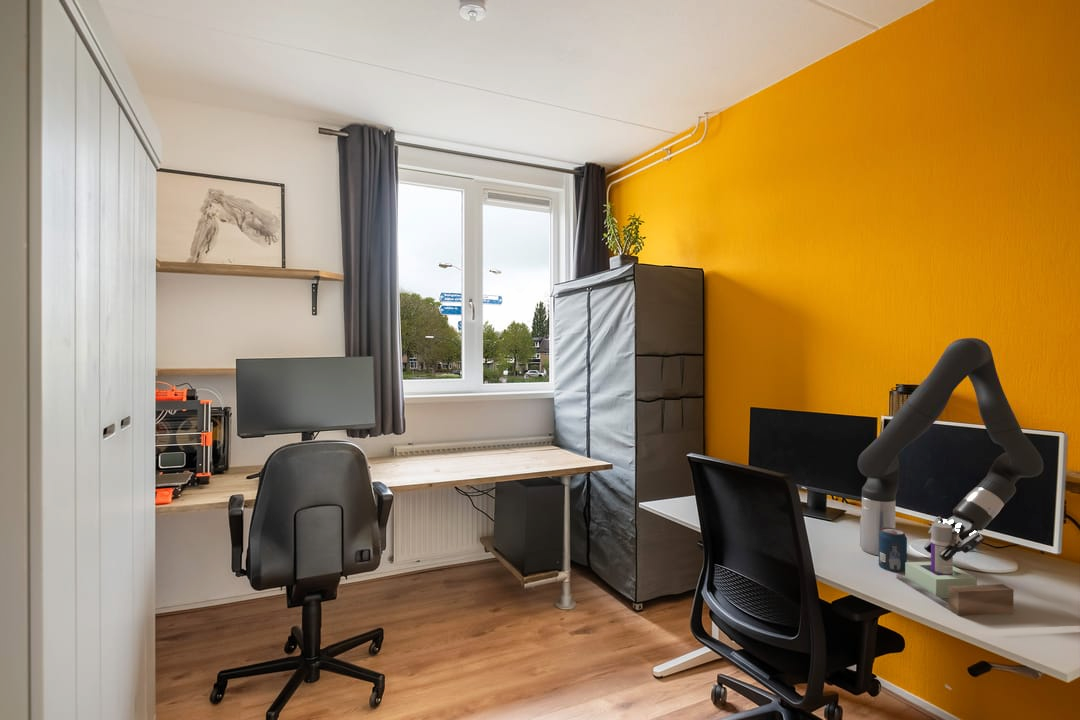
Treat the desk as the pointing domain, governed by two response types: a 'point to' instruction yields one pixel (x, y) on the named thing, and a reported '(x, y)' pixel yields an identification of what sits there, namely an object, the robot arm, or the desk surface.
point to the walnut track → (972, 598)
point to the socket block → (936, 578)
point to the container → (940, 548)
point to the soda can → (892, 549)
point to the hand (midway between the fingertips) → (935, 554)
